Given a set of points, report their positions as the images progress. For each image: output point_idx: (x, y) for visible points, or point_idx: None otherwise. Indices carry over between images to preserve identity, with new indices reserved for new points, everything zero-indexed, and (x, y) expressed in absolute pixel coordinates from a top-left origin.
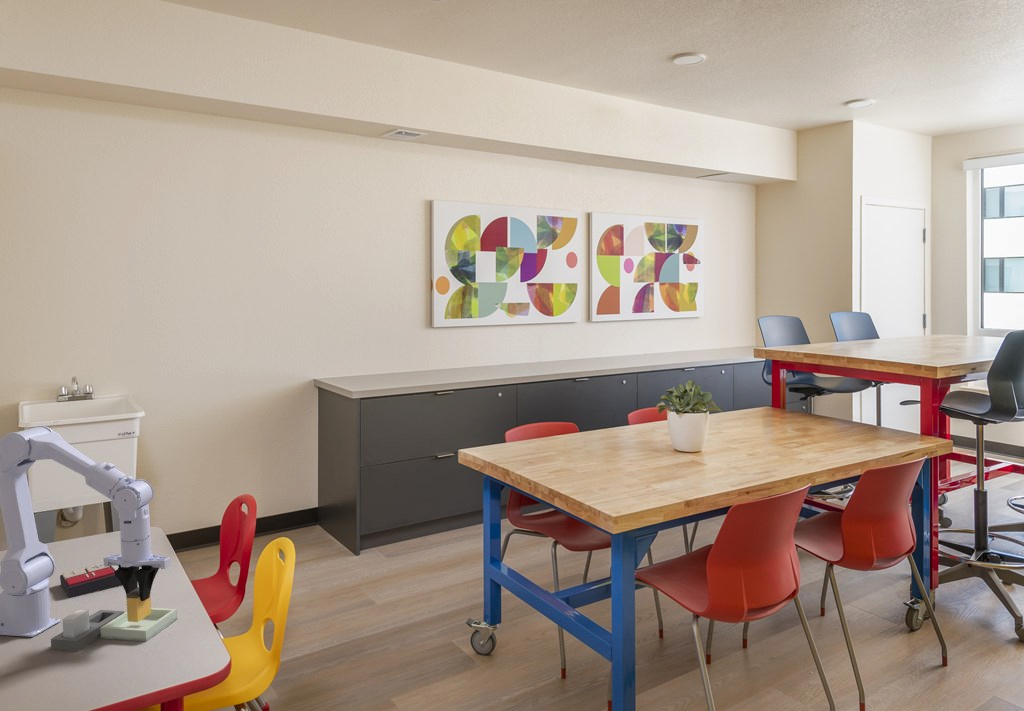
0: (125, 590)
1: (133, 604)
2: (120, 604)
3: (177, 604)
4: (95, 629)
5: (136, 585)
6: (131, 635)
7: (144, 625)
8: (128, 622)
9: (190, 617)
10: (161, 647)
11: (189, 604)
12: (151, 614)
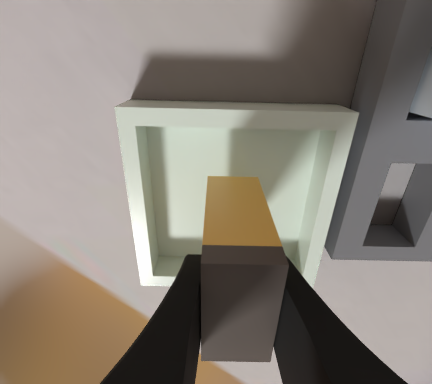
0: (317, 301)
1: (227, 220)
2: (388, 318)
3: None
4: (377, 99)
5: (280, 361)
6: (194, 104)
7: None
8: (291, 218)
9: (118, 272)
10: (24, 54)
11: None
12: None
